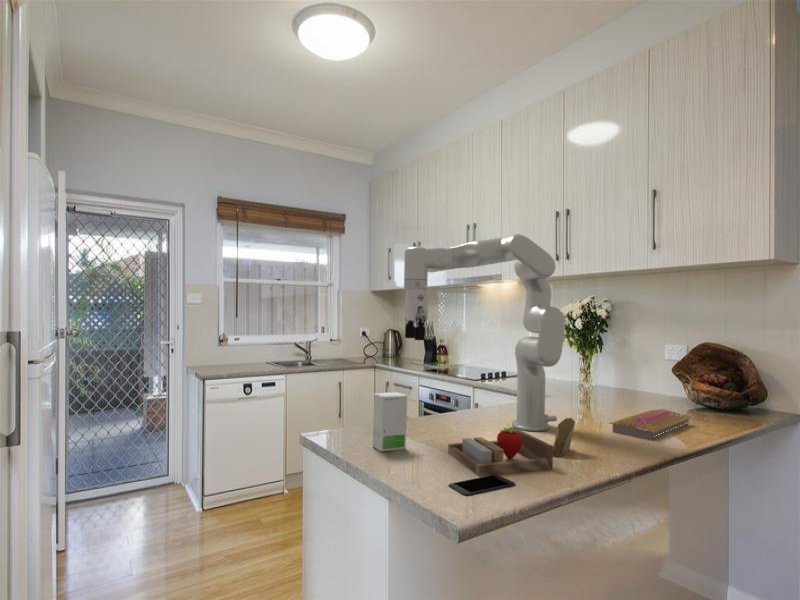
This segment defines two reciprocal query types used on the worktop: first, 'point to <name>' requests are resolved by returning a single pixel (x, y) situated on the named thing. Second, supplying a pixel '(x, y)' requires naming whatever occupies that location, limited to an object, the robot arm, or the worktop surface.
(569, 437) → the rock
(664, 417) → the brown slab
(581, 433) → the worktop surface
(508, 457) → the strawberry
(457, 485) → the smartphone
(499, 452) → the inner offcut board
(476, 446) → the outer offcut board
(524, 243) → the robot arm
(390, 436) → the skincare box
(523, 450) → the rack
